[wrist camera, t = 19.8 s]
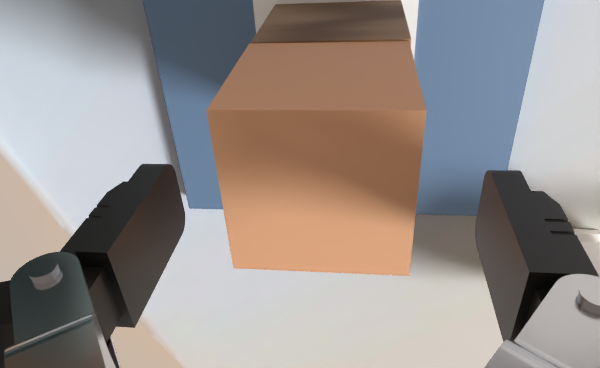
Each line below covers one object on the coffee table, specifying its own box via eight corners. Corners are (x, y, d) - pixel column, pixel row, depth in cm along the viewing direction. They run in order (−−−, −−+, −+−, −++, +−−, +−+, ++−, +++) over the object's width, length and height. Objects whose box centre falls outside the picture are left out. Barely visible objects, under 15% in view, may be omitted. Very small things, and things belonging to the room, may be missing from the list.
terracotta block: (409, 41, 15) (426, 110, 11) (398, 177, 17) (409, 275, 13) (249, 43, 15) (206, 109, 11) (263, 175, 18) (233, 268, 14)
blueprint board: (573, -184, 16) (586, -187, 15) (492, 204, 25) (497, 217, 24) (120, -152, 18) (107, -152, 17) (194, 197, 27) (188, 209, 26)
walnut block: (401, 0, 19) (411, 38, 15) (394, 116, 21) (401, 176, 17) (275, 4, 19) (251, 42, 15) (284, 116, 22) (265, 174, 18)
